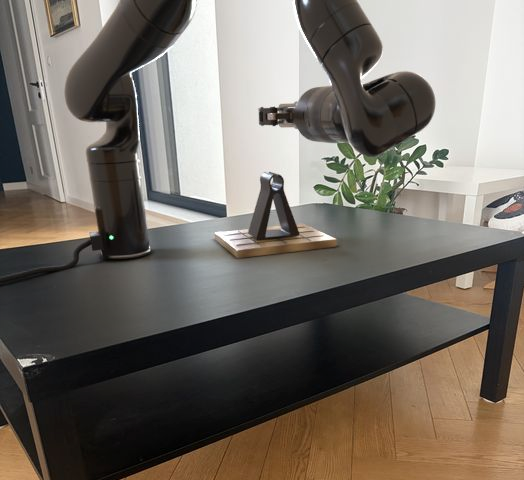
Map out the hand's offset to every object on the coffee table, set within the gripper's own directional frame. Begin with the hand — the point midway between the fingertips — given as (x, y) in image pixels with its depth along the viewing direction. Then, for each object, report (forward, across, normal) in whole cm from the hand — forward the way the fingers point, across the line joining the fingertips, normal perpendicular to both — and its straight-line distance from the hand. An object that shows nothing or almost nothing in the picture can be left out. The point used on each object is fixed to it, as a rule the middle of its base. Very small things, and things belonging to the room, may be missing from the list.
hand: (289, 114), depth 93 cm
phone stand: (+10, 0, +23) cm, 25 cm away
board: (+11, 0, +24) cm, 26 cm away
